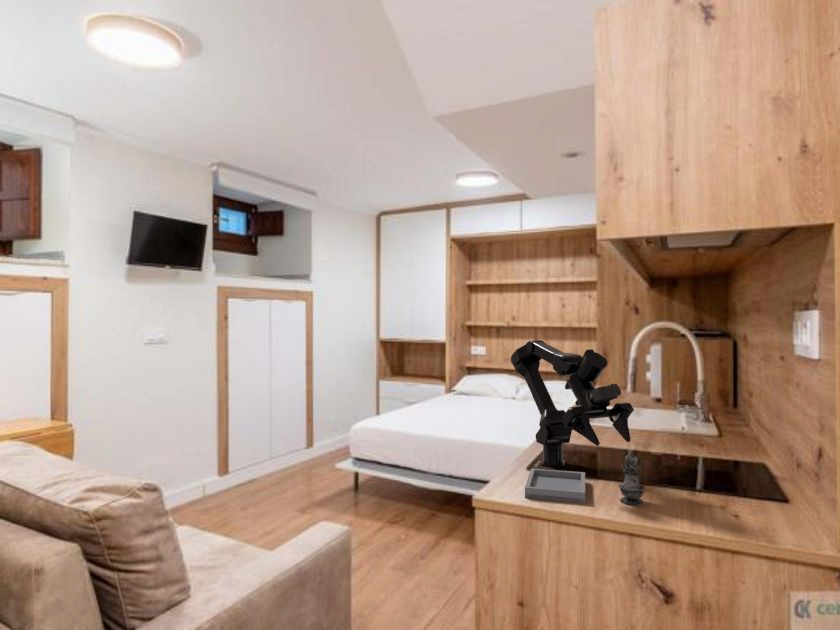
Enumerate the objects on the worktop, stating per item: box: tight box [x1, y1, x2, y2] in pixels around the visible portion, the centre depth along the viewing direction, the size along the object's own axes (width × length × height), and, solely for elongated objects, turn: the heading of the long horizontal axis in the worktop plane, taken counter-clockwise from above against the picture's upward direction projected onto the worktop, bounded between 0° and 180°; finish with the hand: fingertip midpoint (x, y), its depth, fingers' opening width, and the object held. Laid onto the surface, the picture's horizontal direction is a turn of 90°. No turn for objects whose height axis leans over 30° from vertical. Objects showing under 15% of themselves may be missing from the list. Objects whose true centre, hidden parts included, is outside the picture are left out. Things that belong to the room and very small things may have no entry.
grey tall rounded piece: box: [618, 451, 646, 507], centre depth 120 cm, size 6×6×12 cm
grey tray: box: [524, 468, 586, 504], centre depth 129 cm, size 16×14×2 cm
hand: (614, 443), depth 126 cm, fingers open, 9 cm apart
